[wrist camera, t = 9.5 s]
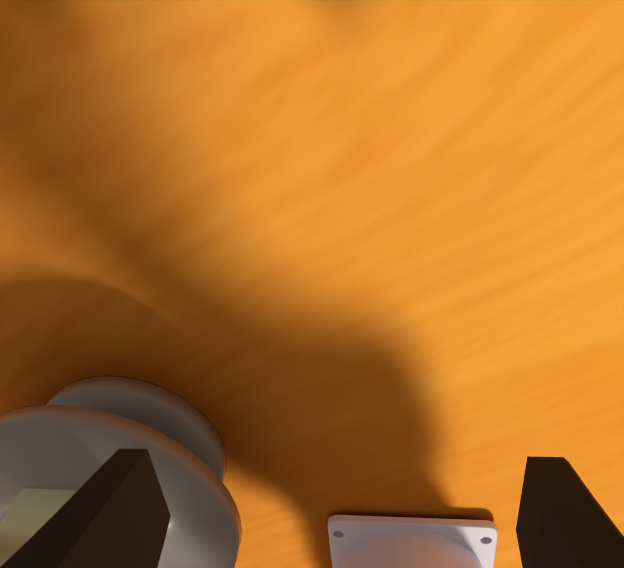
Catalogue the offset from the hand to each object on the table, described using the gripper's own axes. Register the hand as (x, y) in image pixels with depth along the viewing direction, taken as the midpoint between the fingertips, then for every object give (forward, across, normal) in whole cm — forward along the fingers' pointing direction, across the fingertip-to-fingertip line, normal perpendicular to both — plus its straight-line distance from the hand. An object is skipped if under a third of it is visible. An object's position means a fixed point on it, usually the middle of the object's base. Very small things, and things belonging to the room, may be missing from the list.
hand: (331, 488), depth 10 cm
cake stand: (+10, +11, +10) cm, 18 cm away
